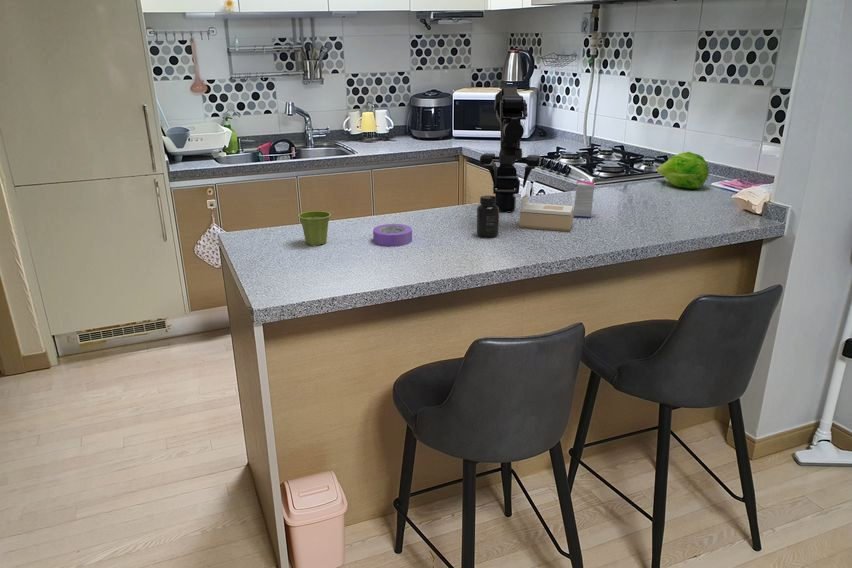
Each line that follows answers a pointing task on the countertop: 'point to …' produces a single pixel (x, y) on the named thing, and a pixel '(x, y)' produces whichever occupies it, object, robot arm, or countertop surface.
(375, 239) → the masking tape
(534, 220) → the base
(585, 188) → the supplement box
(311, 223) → the plant pot
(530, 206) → the lid
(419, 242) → the countertop surface
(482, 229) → the supplement bottle
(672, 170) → the lettuce
